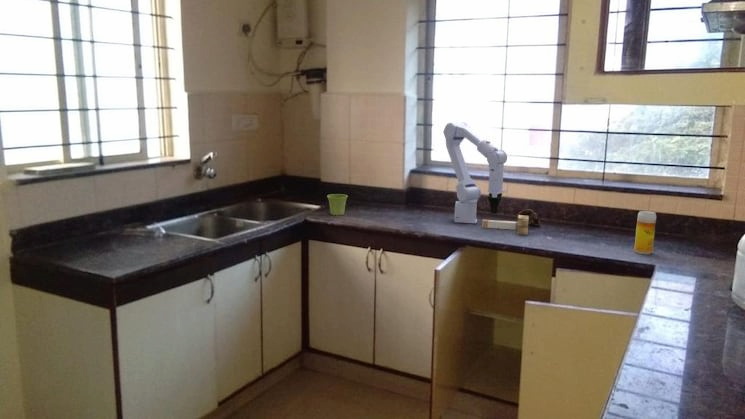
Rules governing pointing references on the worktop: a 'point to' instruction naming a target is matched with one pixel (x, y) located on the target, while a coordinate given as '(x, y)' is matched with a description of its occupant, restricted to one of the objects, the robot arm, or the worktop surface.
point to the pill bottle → (645, 232)
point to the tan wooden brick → (522, 224)
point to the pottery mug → (530, 216)
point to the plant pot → (337, 203)
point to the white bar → (500, 224)
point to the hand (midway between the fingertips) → (494, 211)
